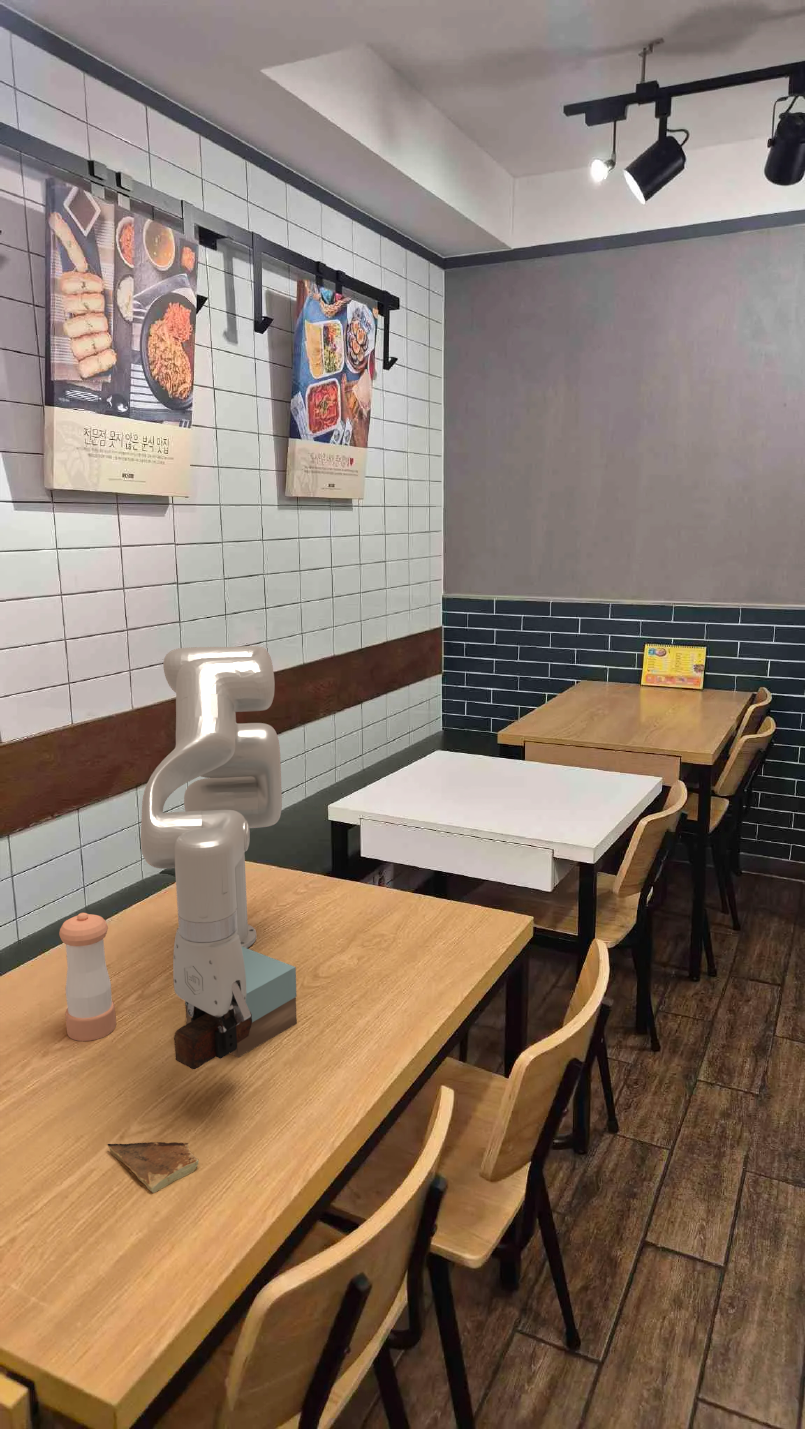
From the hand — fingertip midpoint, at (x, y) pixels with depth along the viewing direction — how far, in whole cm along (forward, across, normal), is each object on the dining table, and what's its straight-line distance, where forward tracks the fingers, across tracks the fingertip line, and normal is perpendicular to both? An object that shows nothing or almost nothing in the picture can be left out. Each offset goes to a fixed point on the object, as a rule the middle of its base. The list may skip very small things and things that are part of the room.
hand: (214, 1045), depth 126 cm
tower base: (+9, -11, +14) cm, 20 cm away
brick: (+1, 0, 0) cm, 1 cm away
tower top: (+4, -11, +14) cm, 18 cm away
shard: (+8, +5, -15) cm, 18 cm away
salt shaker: (+9, -29, -1) cm, 30 cm away
